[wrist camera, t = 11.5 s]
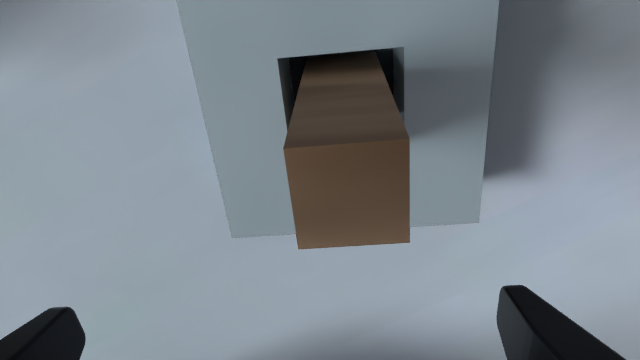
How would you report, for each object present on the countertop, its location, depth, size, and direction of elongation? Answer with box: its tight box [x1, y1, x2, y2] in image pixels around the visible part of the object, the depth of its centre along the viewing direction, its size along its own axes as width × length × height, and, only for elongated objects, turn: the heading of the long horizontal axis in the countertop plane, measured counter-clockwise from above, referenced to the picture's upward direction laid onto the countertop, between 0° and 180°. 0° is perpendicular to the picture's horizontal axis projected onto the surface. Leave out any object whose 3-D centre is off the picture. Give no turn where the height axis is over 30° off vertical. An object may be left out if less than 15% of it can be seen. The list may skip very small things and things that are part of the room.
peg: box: [283, 51, 410, 249], centre depth 15 cm, size 3×3×10 cm
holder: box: [176, 0, 499, 238], centre depth 18 cm, size 11×11×4 cm
